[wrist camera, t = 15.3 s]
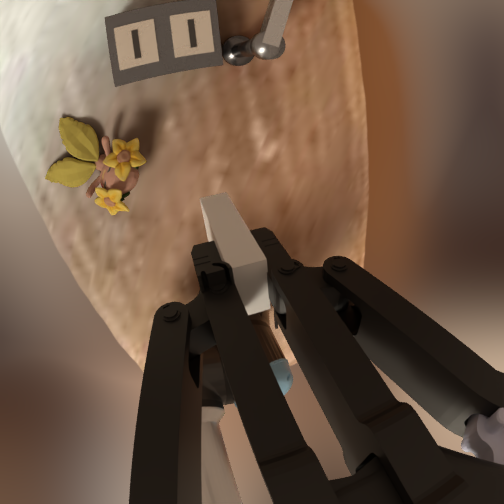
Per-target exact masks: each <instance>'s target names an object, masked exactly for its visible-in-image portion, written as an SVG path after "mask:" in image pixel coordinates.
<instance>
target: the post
mask: <svg viewBox="0 0 504 504" xmlns="http://www.w3.org/2000/svg"><path fill="white" fill-rule="evenodd" d="M250 41H251V40H250V39H248V38H247V37H244V36H234V37H231V38H229V39H227V40H226V41H225V42H224V44H223V46H222V56H223V58H224V60H225V61H226V62H227V63H229V64H231V65H235V66H241V65H245V64H247V63H249V62H250V61H251V60H252V59H253V57H254V54H253V53H252V52H251V49H250Z"/></svg>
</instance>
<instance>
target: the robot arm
mask: <svg viewBox="0 0 504 504" xmlns="http://www.w3.org/2000/svg"><path fill="white" fill-rule="evenodd" d="M200 202H201V207H202V212H203V217H204V222H205V227H206V232H207V237H208V241H209V242H206V243H202V244H198V245H194V246H193V249H192V252H191V255H192V258H193V262H194V266H195V270H196V274H197V278H198V281H199V285H200V291H199V294H198V295H197V297H196V298H195V299H194V300H192V301H191V302H189V303H188V304H186V305H184V304H182V303H180V302H170V303H166V304H165V305H163V306H161V307H160V308H159V309H158V310H157V311H156V313H155V315H154V320H153V325H152V330H151V335H150V340H149V346H148V351H147V357H146V363H145V368H144V374H143V381H142V387H141V394H140V400H139V407H138V415H137V423H136V431H135V440H134V449H133V458H132V469H131V483H130V497H129V504H243V503H242V500H241V497H240V494H239V491H238V488H237V485H236V482H235V478H234V475H233V472H232V469H231V465H230V462H229V458H228V455H227V452H226V448H225V444H224V441H223V437H222V433H221V430H220V426H219V422H220V420H221V419H222V417H223V416H224V414H225V411H224V407H223V405H227V404H233V403H234V404H235V406H236V407H237V409H238V411H239V414H240V417H241V420H242V423H243V426H244V428H245V431H246V434H247V437H248V439H249V442H250V445H251V448H252V450H253V453H254V455H255V458H256V461H257V463H258V466H259V469H260V471H261V474H262V477H263V479H264V481H265V484H266V487H267V489H268V491H269V494H270V497H271V499H272V502H273V504H504V373H502V372H499V371H497V370H495V369H494V368H493V367H492V366H491V365H489V364H488V363H487V362H486V361H485V360H483V359H482V358H481V357H479V356H478V355H477V354H476V353H475V352H473V351H472V350H471V349H470V348H468V347H467V346H466V345H465V344H463V343H462V342H461V341H459V340H458V339H457V338H456V337H455V336H453V335H452V334H451V333H449V332H448V331H447V330H446V329H444V328H443V327H442V326H440V325H439V324H438V323H437V322H435V321H434V320H433V319H431V318H430V317H429V316H427V315H426V314H425V313H423V312H422V311H421V310H419V309H418V308H417V307H415V306H414V305H413V304H411V303H410V302H409V301H407V300H406V299H405V298H403V297H402V296H401V295H399V294H398V293H397V292H395V291H394V290H392V289H391V288H390V287H388V286H387V285H385V284H384V283H383V282H381V281H380V280H379V279H377V278H376V277H374V276H373V275H372V274H370V273H369V272H367V271H366V270H364V269H363V268H362V267H360V266H359V265H357V264H356V263H355V262H353V261H352V260H350V259H348V258H346V257H342V256H333V257H330V258H328V259H326V260H325V261H324V264H323V267H304V266H303V264H302V263H300V262H299V261H297V260H294V259H291V257H290V256H289V255H288V253H287V252H286V250H285V249H284V248H283V246H282V245H281V243H280V242H279V241H278V239H276V236H275V235H274V234H273V232H272V231H270V230H268V229H267V228H265V227H263V228H259V229H255V230H251V231H250V230H249V229H248V227H247V225H246V224H245V222H244V221H243V219H242V217H241V216H240V214H239V212H238V211H237V209H236V207H235V206H234V204H233V202H232V201H231V199H230V197H229V196H228V194H227V193H226V192H225V193H220V194H216V195H212V196H207V197H203V198H200ZM270 301H271V303H272V305H273V307H274V321H275V328H276V329H277V328H278V324H279V326H280V328H281V330H282V332H283V334H284V336H285V338H286V340H287V342H288V344H289V346H290V348H291V350H292V352H293V354H294V356H295V358H296V360H297V362H298V364H299V366H300V368H301V369H302V371H303V373H304V375H305V377H306V379H307V381H308V383H309V385H310V387H311V389H312V391H313V393H314V395H315V397H316V399H317V401H318V402H319V404H320V406H321V408H322V410H323V412H324V414H325V416H326V418H327V420H328V422H329V424H330V426H331V428H332V429H333V432H334V433H335V435H336V437H337V439H338V441H339V443H340V445H341V447H342V450H343V456H344V460H345V463H346V465H347V467H348V469H349V471H350V473H351V475H352V476H349V477H345V478H340V479H335V480H330V481H329V480H328V479H327V477H326V474H325V472H324V470H323V468H322V466H321V464H320V462H319V460H318V458H317V457H316V455H315V453H314V452H313V450H312V449H311V448H310V447H309V446H308V445H307V444H306V442H305V440H304V438H303V436H302V434H301V432H300V429H299V427H298V425H297V423H296V421H295V419H294V417H293V414H292V412H291V410H290V408H289V406H288V404H287V401H286V399H285V397H284V395H285V394H286V393H287V392H288V391H289V389H290V387H291V385H292V382H293V375H292V372H291V370H290V367H289V365H288V364H289V363H288V361H287V359H286V358H285V356H284V354H283V352H282V350H281V348H280V346H279V344H278V342H277V340H276V338H275V336H274V334H273V332H272V330H271V328H270V323H269V309H270ZM370 360H371V361H372V362H373V363H374V364H375V365H376V366H377V367H378V368H380V369H381V370H382V371H383V372H384V373H385V374H386V375H387V376H388V377H389V378H390V379H391V380H393V381H394V382H395V383H396V384H397V385H398V386H399V387H400V388H401V389H402V390H403V391H405V392H406V393H407V394H408V395H409V396H410V397H411V398H412V399H413V400H415V401H416V402H417V403H418V404H419V405H420V406H421V407H422V408H423V409H424V410H425V411H427V412H428V413H429V414H430V415H431V416H432V417H433V418H434V419H435V420H436V421H438V422H439V423H440V424H441V425H443V426H444V427H445V428H446V429H448V430H450V431H451V432H453V433H454V434H457V435H459V436H461V437H463V440H462V443H461V447H462V449H463V450H464V451H465V452H472V453H473V454H474V455H475V456H476V457H473V456H469V455H466V454H463V453H459V452H456V451H453V450H450V449H447V448H444V447H441V446H438V445H437V443H436V442H435V440H434V439H433V437H432V436H431V434H430V433H429V431H428V429H427V428H426V426H425V425H424V423H423V422H422V420H421V419H420V417H419V416H418V414H417V413H416V411H415V410H414V409H413V408H412V406H411V405H409V404H408V403H405V402H399V401H398V400H397V399H396V398H395V397H394V396H393V394H392V393H391V391H390V389H389V388H388V387H387V385H386V383H385V382H384V381H383V379H382V378H381V376H380V374H379V373H378V371H377V370H376V369H375V367H374V366H373V364H372V363H371V361H370Z"/></svg>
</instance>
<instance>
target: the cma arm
mask: <svg viewBox="0 0 504 504" xmlns="http://www.w3.org/2000/svg"><path fill="white" fill-rule="evenodd" d="M292 3H293V0H270V2H269V5H268V8H267V11H266V14H265V18H264V21H263V24H262V27H261V30H260V33H257V34H256V35H254V36H253V38H252V39H251V41H250V49H251V52H252V53H253V54H254V56H256V57H257V58H259V59H263V60H269V59H276V58H278V57H280V56H281V55H282V54H283V52H284V50H285V41H284V39H283V37H282V35H283V32H284V28H285V25H286V22H287V19H288V15H289V12H290V9H291V6H292Z"/></svg>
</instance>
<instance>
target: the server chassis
mask: <svg viewBox="0 0 504 504" xmlns="http://www.w3.org/2000/svg"><path fill="white" fill-rule="evenodd" d="M105 24H106V32H107V39H108V46H109V53H110V60H111V66H112V72H113V78H114V84H115V87H117V86H121V85H124V84H128V83H132V82H136V81H140V80H144V79H148V78H152V77H156V76H161V75H166V74H171V73H176V72H181V71H186V70H192V69H198V68H205V67H211V66H219V65H223V58H222V50H221V41H220V32H219V24H218V15H217V6H216V0H184V1H177V2H171V3H165V4H159V5H154V6H149V7H144V8H140V9H135V10H131V11H127V12H123V13H119V14H115V15H112V16H108V17H105Z"/></svg>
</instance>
